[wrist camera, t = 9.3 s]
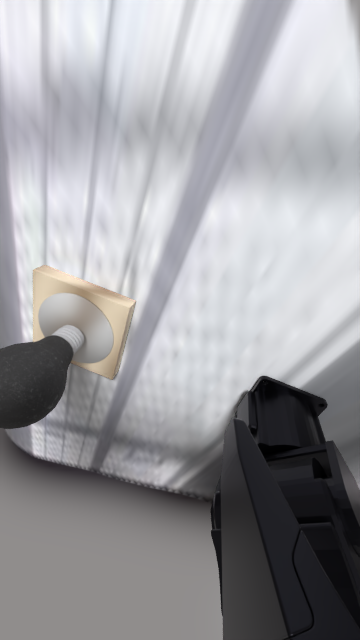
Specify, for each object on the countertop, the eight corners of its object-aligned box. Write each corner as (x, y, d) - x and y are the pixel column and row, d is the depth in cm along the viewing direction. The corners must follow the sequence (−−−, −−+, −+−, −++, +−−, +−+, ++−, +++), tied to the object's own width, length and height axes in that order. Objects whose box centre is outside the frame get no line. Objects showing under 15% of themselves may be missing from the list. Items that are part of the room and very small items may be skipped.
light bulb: (62, 356, 26) (-26, 444, 17) (39, 306, 23) (-77, 381, 15) (111, 355, 24) (43, 452, 16) (93, 303, 22) (-1, 383, 13)
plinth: (135, 301, 23) (128, 309, 21) (118, 370, 27) (111, 381, 26) (44, 264, 23) (31, 270, 22) (42, 339, 28) (31, 348, 26)
